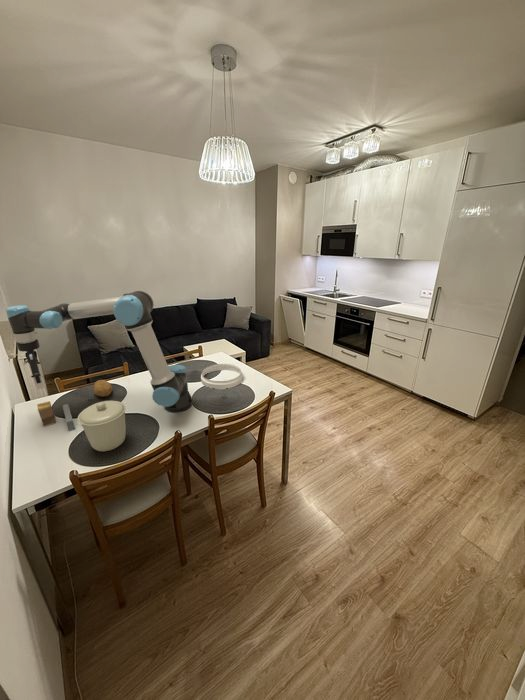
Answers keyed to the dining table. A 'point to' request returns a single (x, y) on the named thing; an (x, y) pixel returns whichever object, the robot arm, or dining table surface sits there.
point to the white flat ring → (221, 384)
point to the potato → (102, 388)
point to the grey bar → (68, 417)
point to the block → (46, 413)
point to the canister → (104, 424)
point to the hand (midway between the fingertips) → (40, 382)
